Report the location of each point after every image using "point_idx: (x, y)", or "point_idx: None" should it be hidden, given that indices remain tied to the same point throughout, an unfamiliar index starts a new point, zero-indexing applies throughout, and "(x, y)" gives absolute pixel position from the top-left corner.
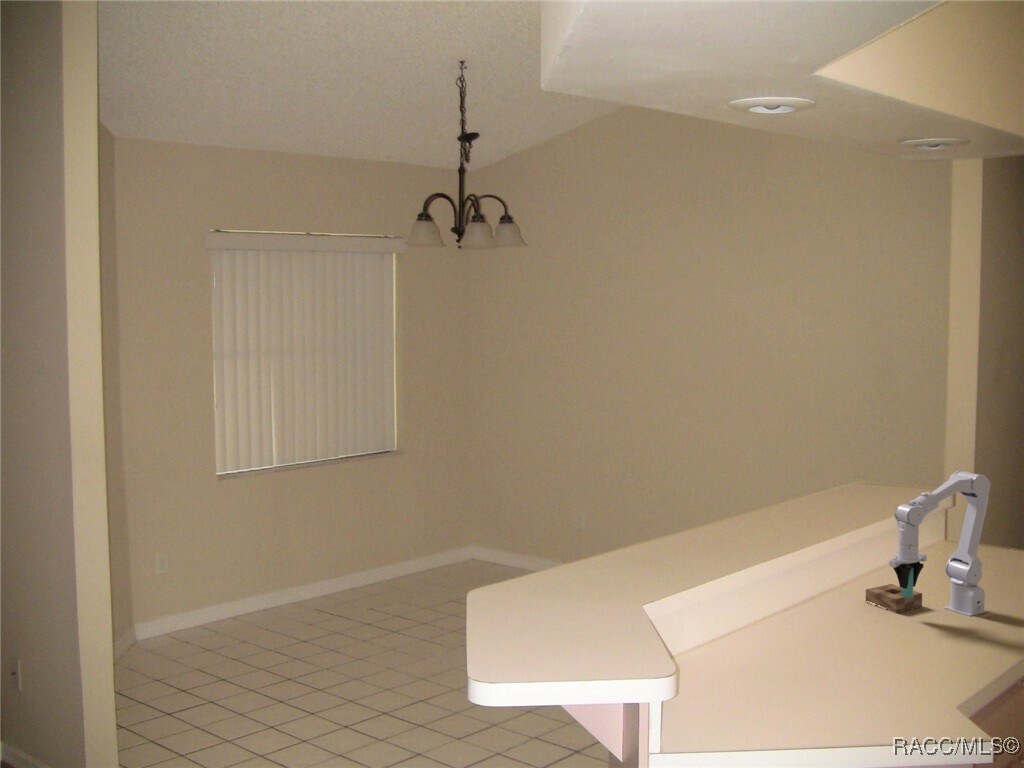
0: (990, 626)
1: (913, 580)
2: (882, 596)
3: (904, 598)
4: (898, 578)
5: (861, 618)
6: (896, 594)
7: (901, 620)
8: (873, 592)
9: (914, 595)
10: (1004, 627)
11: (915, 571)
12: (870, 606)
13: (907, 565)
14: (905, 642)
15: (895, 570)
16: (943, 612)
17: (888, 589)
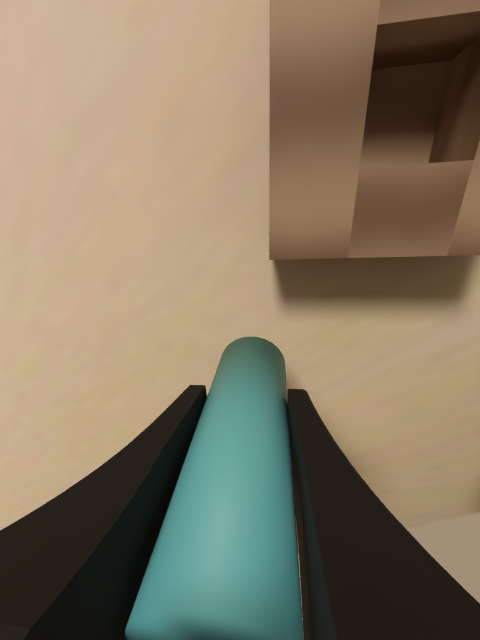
0: (424, 480)
1: (292, 470)
2: (270, 134)
3: (344, 256)
4: (145, 436)
5: (89, 215)
6: (363, 180)
7: (223, 314)
8: (270, 15)
9: (448, 255)
10: (447, 500)
11: (304, 609)
12: (253, 69)
13: (325, 636)
14: (97, 430)
15: (36, 525)
16: (467, 334)
17: (452, 11)
